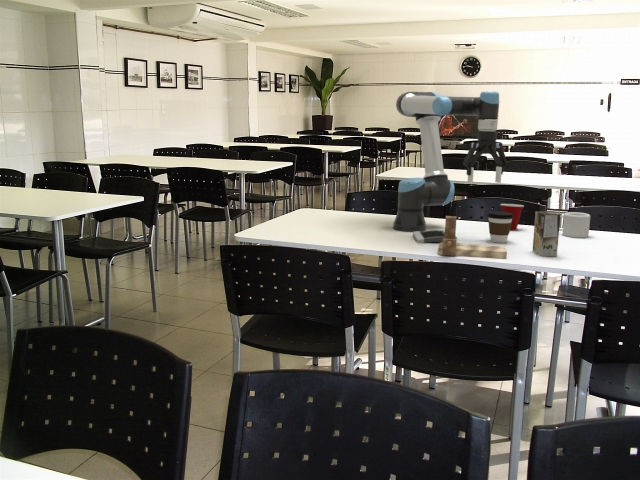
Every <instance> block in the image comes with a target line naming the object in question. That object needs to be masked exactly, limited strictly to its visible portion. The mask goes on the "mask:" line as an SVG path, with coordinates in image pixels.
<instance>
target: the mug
mask: <svg viewBox="0 0 640 480" xmlns="http://www.w3.org/2000/svg"><path fill="white" fill-rule="evenodd" d="M560 218H563V226H562V228H559V232H560V231H561V232H562V235H563V236H564V237H567V238H573V239H574V238H575V239H585V238H588V237H589V234H590V224H591V223H590V222H591V215H590V214H589V213H586V212H576V211H575V212H574V211H573V212H572V211H570V212H569V211H568V212H565V213H564V215H560Z"/></svg>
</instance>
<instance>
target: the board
mask: <svg viewBox="0 0 640 480" xmlns="http://www.w3.org/2000/svg"><path fill="white" fill-rule="evenodd" d="M438 243H439V244H438V249H437V251H438V253H437V255H442V247H443V242H438ZM507 254H508V253H507V248H506V246H504V245H502V246H501V245H500V246H499V245H485V244H482V245H481V244H468V243H467V244H466V243H456V256H460V257H462V256H463V257H477V258H479V257H480V258H494V259H507V257H508V255H507ZM442 256H443V255H442Z"/></svg>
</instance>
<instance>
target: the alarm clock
mask: <svg viewBox="0 0 640 480" xmlns="http://www.w3.org/2000/svg"><path fill="white" fill-rule="evenodd" d="M412 233H413V234H412V237H413V239H414V241H415V242H416V243H417V244H425V243H436V242H437V243H443V239H445V229H428V230H423V231H412ZM455 239H457V240H458V236H457V235H455Z"/></svg>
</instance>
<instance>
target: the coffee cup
mask: <svg viewBox="0 0 640 480" xmlns="http://www.w3.org/2000/svg"><path fill="white" fill-rule="evenodd" d="M486 217H487V218H488V222H487V223H488V232H489V238H490V241H491V242H492V243H499V244H500V243H503V244H504V243H506V242H507V241H508V238H509V234H510V231H511V230H510V227H511V223H512V222H511V221H512V219H513V218H514V216H513V214H512V213H509V212H502V211H499V210H498V211H489V212H488V213H487V214H486Z"/></svg>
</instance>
